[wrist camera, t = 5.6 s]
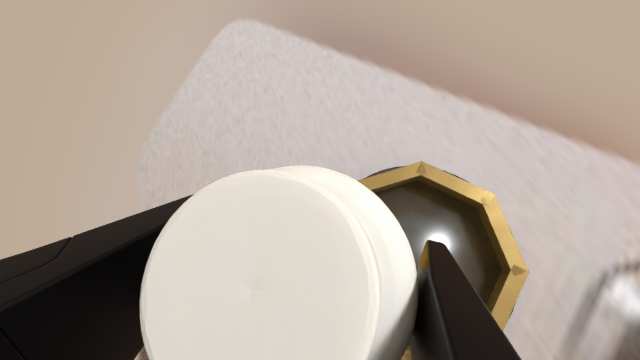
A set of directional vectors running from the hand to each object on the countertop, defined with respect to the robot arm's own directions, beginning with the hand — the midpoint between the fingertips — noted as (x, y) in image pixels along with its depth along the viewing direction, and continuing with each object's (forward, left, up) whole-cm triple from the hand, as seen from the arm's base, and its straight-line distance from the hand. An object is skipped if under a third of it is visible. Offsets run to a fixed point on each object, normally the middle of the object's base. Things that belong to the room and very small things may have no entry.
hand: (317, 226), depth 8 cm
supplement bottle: (-1, +1, -7) cm, 7 cm away
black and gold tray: (-2, -3, -13) cm, 13 cm away
